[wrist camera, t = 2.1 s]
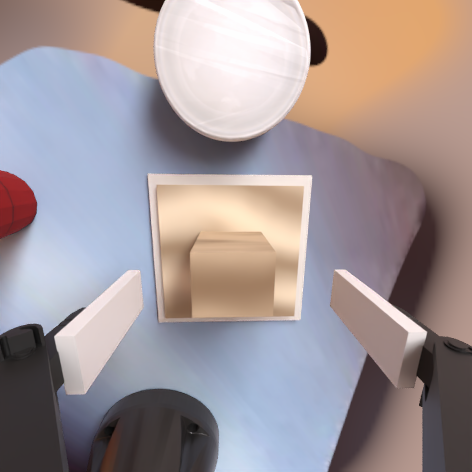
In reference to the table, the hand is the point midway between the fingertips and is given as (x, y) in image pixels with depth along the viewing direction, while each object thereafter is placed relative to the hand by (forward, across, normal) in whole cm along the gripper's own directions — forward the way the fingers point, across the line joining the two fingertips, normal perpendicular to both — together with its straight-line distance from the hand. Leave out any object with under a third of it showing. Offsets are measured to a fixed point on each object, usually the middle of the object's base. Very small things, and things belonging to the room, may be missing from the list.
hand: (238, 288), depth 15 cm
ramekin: (+10, 0, -16) cm, 18 cm away
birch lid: (+9, 0, 0) cm, 9 cm away
